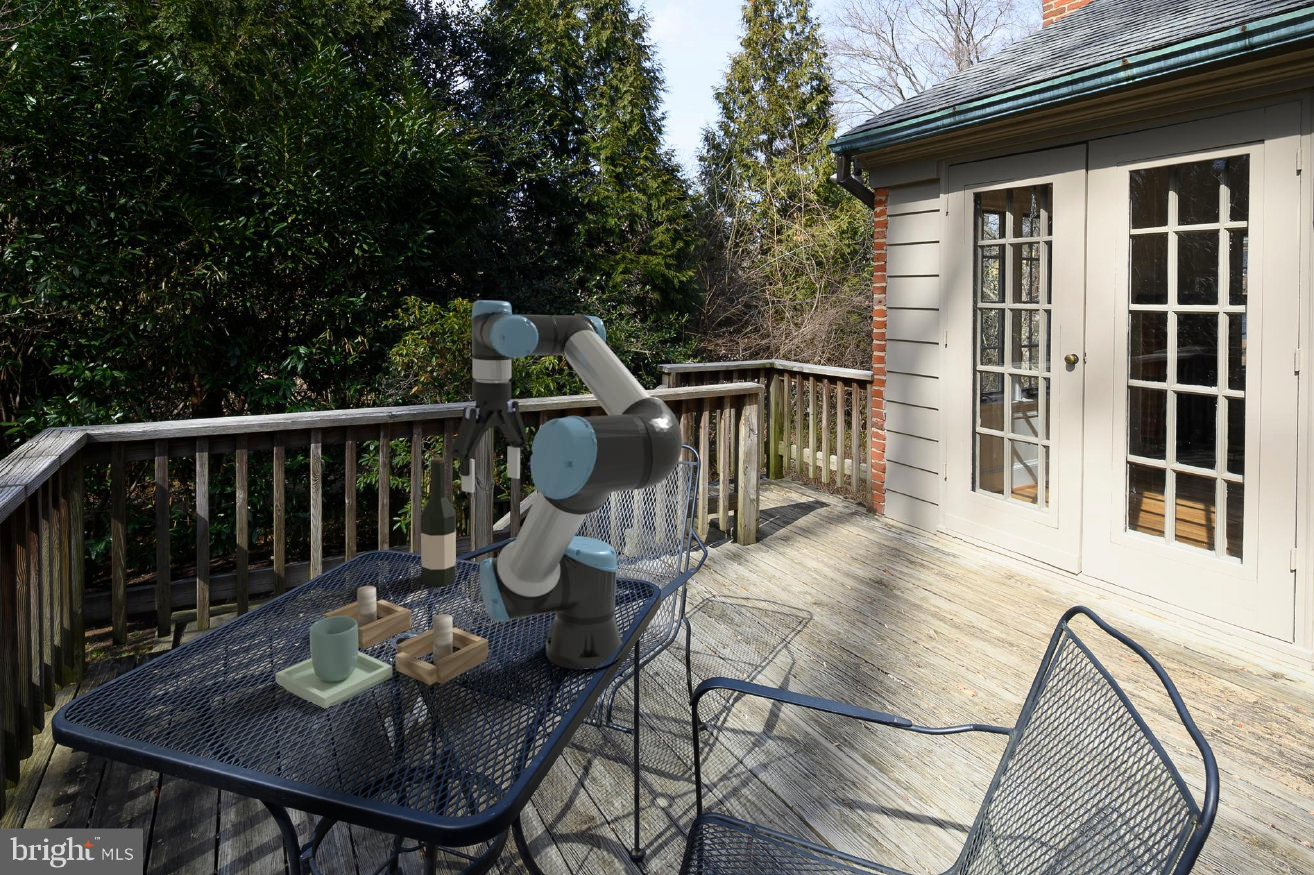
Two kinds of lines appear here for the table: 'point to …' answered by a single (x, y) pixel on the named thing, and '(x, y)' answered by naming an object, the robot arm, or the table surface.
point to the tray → (332, 693)
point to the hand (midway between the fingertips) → (491, 484)
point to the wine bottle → (438, 532)
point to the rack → (415, 638)
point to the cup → (334, 647)
